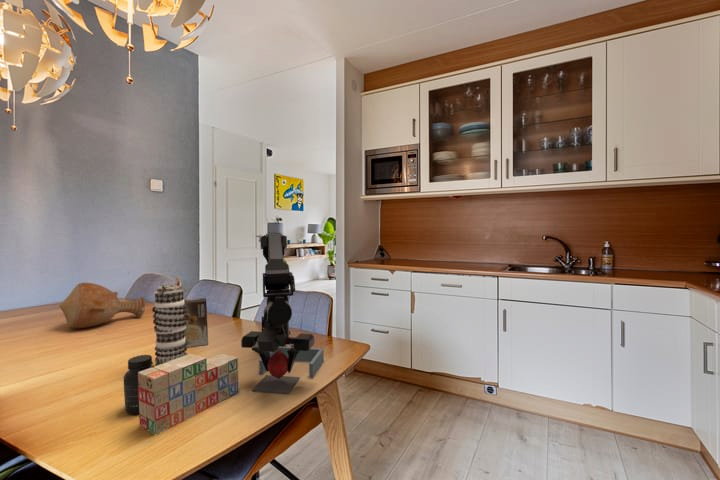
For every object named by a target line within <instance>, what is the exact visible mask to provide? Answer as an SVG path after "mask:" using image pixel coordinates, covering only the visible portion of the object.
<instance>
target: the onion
mask: <svg viewBox="0 0 720 480" xmlns="http://www.w3.org/2000/svg"><path fill="white" fill-rule="evenodd" d="M267 367H268V372H269V375H272V376H274V377H276V378H278V379H279V378H281V377H282V376H286V374H287V373H288V357H287V356H286V355H285V354H284V353H282V352H281V349H277V351H276V353H275V354H273V355H272V356H271V357H270V359H269V361H268V366H267Z"/></svg>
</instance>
